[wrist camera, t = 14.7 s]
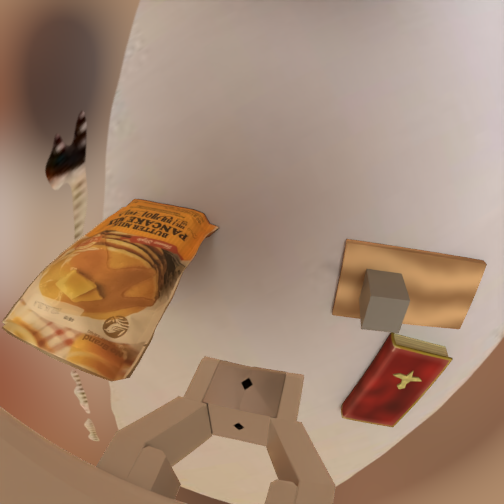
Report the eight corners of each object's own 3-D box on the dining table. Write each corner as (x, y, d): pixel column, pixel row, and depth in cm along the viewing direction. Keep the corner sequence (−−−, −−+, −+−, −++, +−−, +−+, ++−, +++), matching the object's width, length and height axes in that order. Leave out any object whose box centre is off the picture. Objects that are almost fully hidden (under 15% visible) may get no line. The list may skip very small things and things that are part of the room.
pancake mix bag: (225, 256, 48) (131, 407, 23) (117, 230, 50) (-5, 331, 26) (230, 214, 44) (118, 356, 20) (116, 192, 47) (-25, 282, 23)
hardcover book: (341, 402, 58) (340, 418, 54) (390, 328, 47) (393, 346, 44) (391, 412, 56) (392, 428, 53) (447, 343, 46) (452, 360, 43)
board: (346, 239, 42) (347, 242, 41) (483, 260, 38) (486, 264, 37) (332, 310, 48) (332, 314, 47) (457, 324, 44) (459, 329, 43)
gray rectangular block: (366, 268, 42) (370, 295, 36) (401, 273, 41) (410, 300, 35) (359, 299, 44) (361, 328, 39) (392, 303, 43) (398, 333, 38)
